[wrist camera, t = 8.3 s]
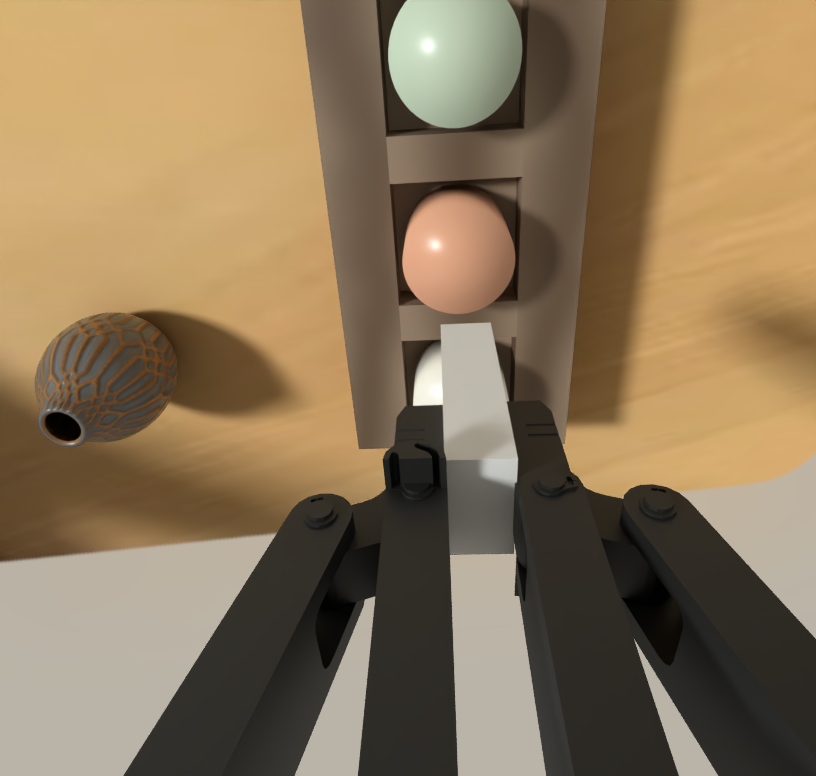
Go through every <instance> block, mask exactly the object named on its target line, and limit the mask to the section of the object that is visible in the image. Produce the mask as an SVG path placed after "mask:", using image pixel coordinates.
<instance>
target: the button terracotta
mask: <svg viewBox="0 0 816 776" xmlns="http://www.w3.org/2000/svg"><path fill="white" fill-rule="evenodd" d="M402 265H403V272H404V276H405V279H406V281H407V284H408V286H409V287H410V289H411V291H412V292H413V293H414V295H415V296H416V297H417V298H418V299H419V300H420V301H421V302H423V303H424V304H426V305H427V306H429V307H431V308H432V309H435V310H437V311H440V312H444V313H450V314H465V313H470V312H474V311H477V310H480V309H482V308H484V307H486V306H488V305H489V304H491V303H492V302H493V301H495V300H496V299H497V298H498V297H499V296H500V295H501V294H502V293H503V292H504V290H505V289H506V287H507V286H508V284H509V282H510V280H511V277H512V275H513V271H514V267H515V249H514V244H513V241H512V238H511V236H510V233H509V230H508V227H507V225H506V222H505V219H504V217H503V214H502V212H501V210H500V208H499V206H498V205H497V203H496V202H495V201H494V200H493V199H492V198H491V197H490V196H489V195H488V194H486V193H485V192H483V191H482V190H480V189H478V188H475V187H472V186H469V185H463V184H453V185H447V186H443V187H440V188H437V189H435V190H433V191H431V192H430V193H428V194H427V195H426V196H424V197H423V198H422V199H421V200H420V201H419V202H418V204H417V205H416V206H415V208H414V209H413V211H412V213H411V215H410V217H409V220H408V224H407V230H406V237H405V243H404V250H403V258H402Z"/></svg>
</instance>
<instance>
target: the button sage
mask: <svg viewBox="0 0 816 776" xmlns="http://www.w3.org/2000/svg"><path fill="white" fill-rule="evenodd" d="M521 60H522V37H521V30H520V27H519V23H518V20H517V17H516V15H515V12H514V11H513V9H512V7H511V5H510V4H509V2H508V1H507V0H407V1H406V2H405V3H404V5H403V6H402V8H401V10H400V11H399V13H398V15H397V17H396V19H395V22H394V24H393V27H392V30H391V35H390V39H389V48H388V62H389V70H390V74H391V78H392V81H393V84H394V87H395V89H396V91H397V93H398V95H399V97H400V98H401V100H402V101H403V103H404V104H405V105H406V106H407V107H408V109H409V110H410V111H411V112H413V113H414V114H415V115H416V116H417V117H419V118H420V119H422V120H423V121H425V122H427V123H430V124H432V125H435V126H438V127H444V128H462V127H467V126H470V125H473V124H476V123H478V122H480V121H482V120H484V119H485V118H487V117H489V116H490V115H491V114H492V113H494V112H495V111H496V110H497V109H498V108H499V107H500V106H501V105H502V104H503V102H504V101H505V100H506V99H507V97H508V96H509V94H510V92H511V91H512V89H513V87H514V84H515V82H516V80H517V77H518V74H519V71H520V66H521Z"/></svg>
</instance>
